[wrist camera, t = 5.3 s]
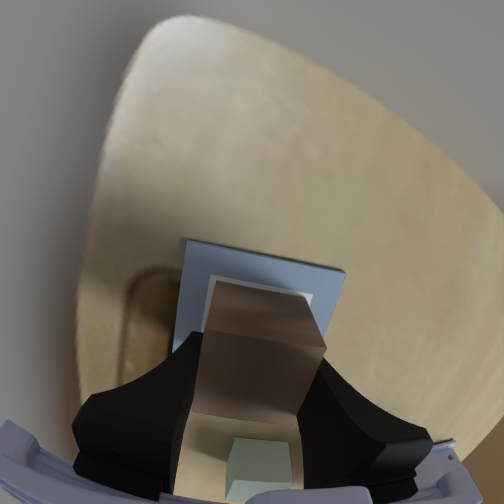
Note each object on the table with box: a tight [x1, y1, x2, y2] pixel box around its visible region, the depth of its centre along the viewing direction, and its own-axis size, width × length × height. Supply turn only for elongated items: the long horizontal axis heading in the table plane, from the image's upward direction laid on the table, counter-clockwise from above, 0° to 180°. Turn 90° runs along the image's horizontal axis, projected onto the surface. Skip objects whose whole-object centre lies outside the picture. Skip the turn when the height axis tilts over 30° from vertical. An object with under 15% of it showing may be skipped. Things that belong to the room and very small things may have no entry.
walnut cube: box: [191, 280, 327, 425], centre depth 13 cm, size 4×4×4 cm
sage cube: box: [225, 437, 293, 502], centre depth 17 cm, size 4×4×4 cm
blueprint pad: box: [172, 240, 346, 353], centre depth 15 cm, size 8×8×1 cm
